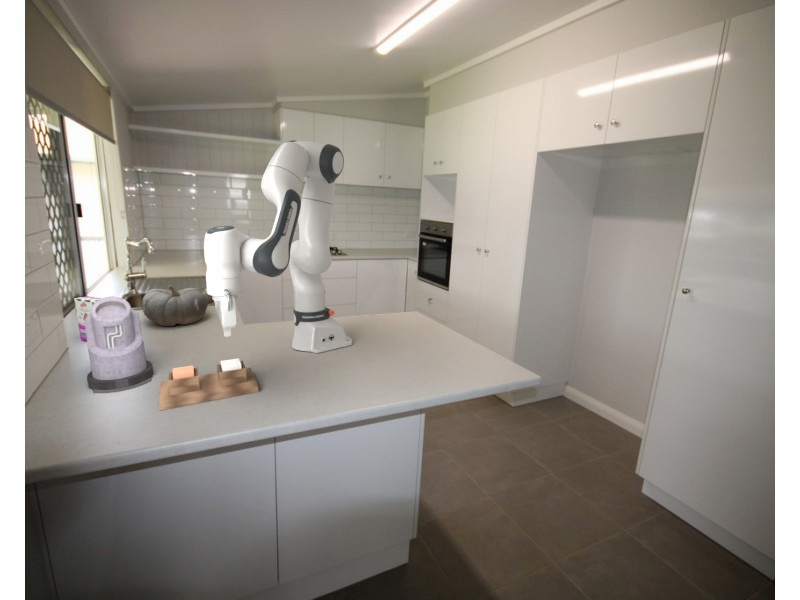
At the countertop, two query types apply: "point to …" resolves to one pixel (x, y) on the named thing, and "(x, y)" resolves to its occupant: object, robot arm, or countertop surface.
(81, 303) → the candy bar box
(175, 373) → the terracotta key
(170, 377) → the key panel
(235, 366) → the ivory key
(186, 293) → the gourd
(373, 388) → the countertop surface
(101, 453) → the countertop surface
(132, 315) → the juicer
